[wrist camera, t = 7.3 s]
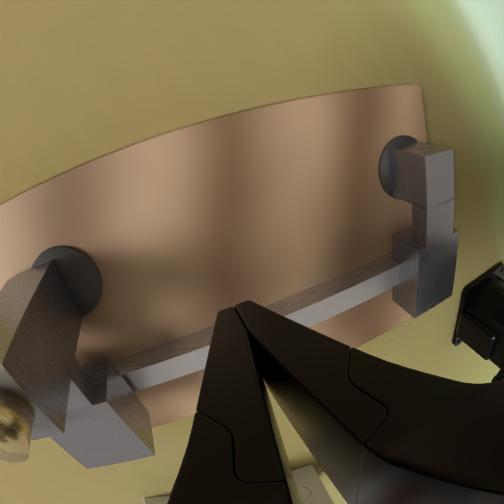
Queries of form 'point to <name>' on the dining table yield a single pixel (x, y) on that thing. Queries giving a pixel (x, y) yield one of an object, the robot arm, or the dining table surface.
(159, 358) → the rail
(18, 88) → the dining table surface
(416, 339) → the dining table surface
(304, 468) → the grey curved block
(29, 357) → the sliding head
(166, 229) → the brown wooden board
